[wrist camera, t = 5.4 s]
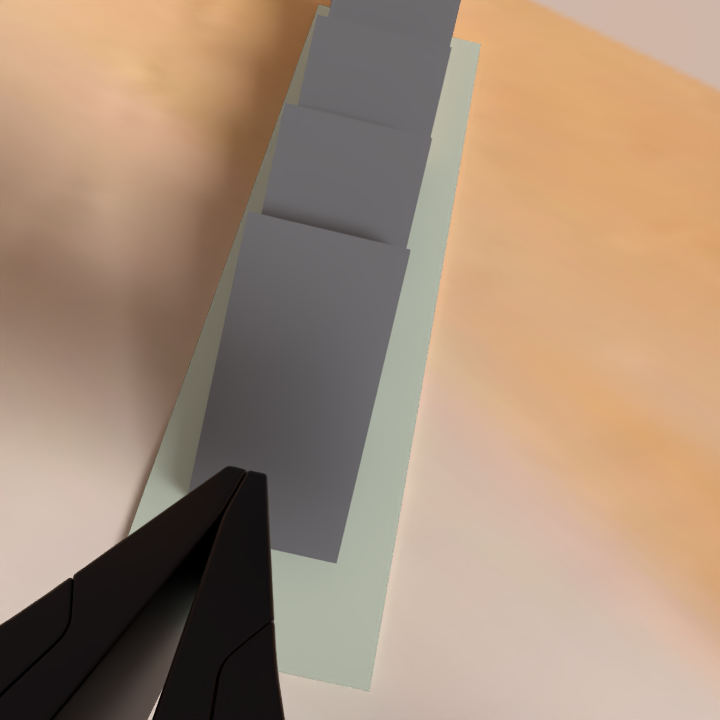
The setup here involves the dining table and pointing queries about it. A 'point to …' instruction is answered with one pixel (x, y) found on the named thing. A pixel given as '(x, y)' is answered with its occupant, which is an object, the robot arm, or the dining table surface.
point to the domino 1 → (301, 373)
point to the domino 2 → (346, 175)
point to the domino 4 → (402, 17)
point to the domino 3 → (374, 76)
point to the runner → (386, 429)
